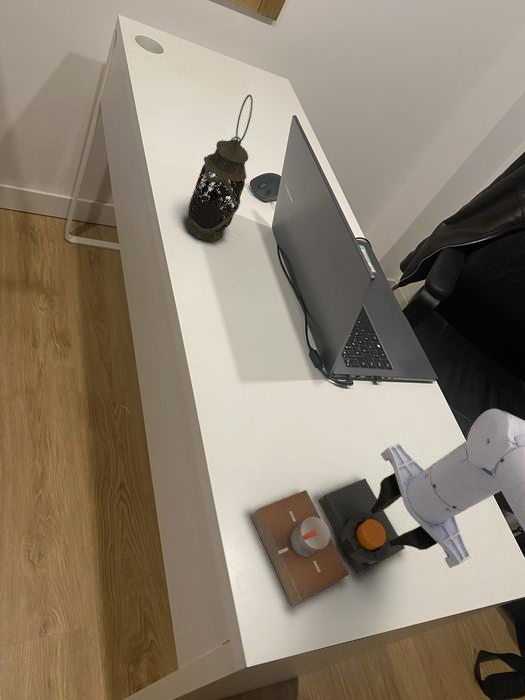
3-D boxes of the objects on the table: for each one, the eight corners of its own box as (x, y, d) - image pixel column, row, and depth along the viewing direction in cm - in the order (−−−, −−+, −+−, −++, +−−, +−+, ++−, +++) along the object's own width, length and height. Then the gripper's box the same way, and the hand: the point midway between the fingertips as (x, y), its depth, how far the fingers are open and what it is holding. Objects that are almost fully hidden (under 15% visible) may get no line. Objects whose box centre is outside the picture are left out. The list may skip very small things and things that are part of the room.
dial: (308, 521, 66) (321, 511, 64) (323, 550, 65) (336, 541, 62) (284, 532, 64) (296, 522, 61) (299, 562, 62) (312, 553, 60)
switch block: (396, 552, 72) (412, 544, 69) (350, 578, 67) (365, 570, 64) (358, 483, 77) (371, 473, 74) (311, 503, 72) (324, 492, 69)
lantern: (182, 209, 102) (223, 74, 81) (224, 219, 105) (274, 91, 84) (183, 240, 96) (228, 103, 76) (228, 250, 99) (282, 121, 79)
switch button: (384, 544, 68) (390, 540, 66) (365, 554, 66) (372, 550, 64) (370, 519, 69) (376, 515, 68) (351, 528, 67) (357, 524, 66)
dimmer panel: (339, 579, 66) (350, 573, 64) (290, 606, 62) (301, 601, 59) (298, 497, 71) (307, 488, 69) (250, 516, 67) (258, 508, 65)
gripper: (515, 534, 53) (437, 568, 63) (436, 419, 60) (377, 466, 69) (476, 559, 50) (400, 591, 59) (397, 434, 56) (340, 481, 66)
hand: (385, 525), depth 64 cm, fingers open, 4 cm apart
